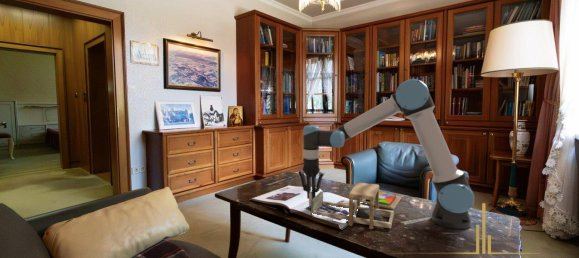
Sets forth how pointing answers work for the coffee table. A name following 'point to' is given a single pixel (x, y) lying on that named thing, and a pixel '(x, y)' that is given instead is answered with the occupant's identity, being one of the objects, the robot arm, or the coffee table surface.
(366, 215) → the rock
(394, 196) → the wooden puzzle
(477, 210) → the coffee table surface
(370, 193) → the stool
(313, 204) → the sled
